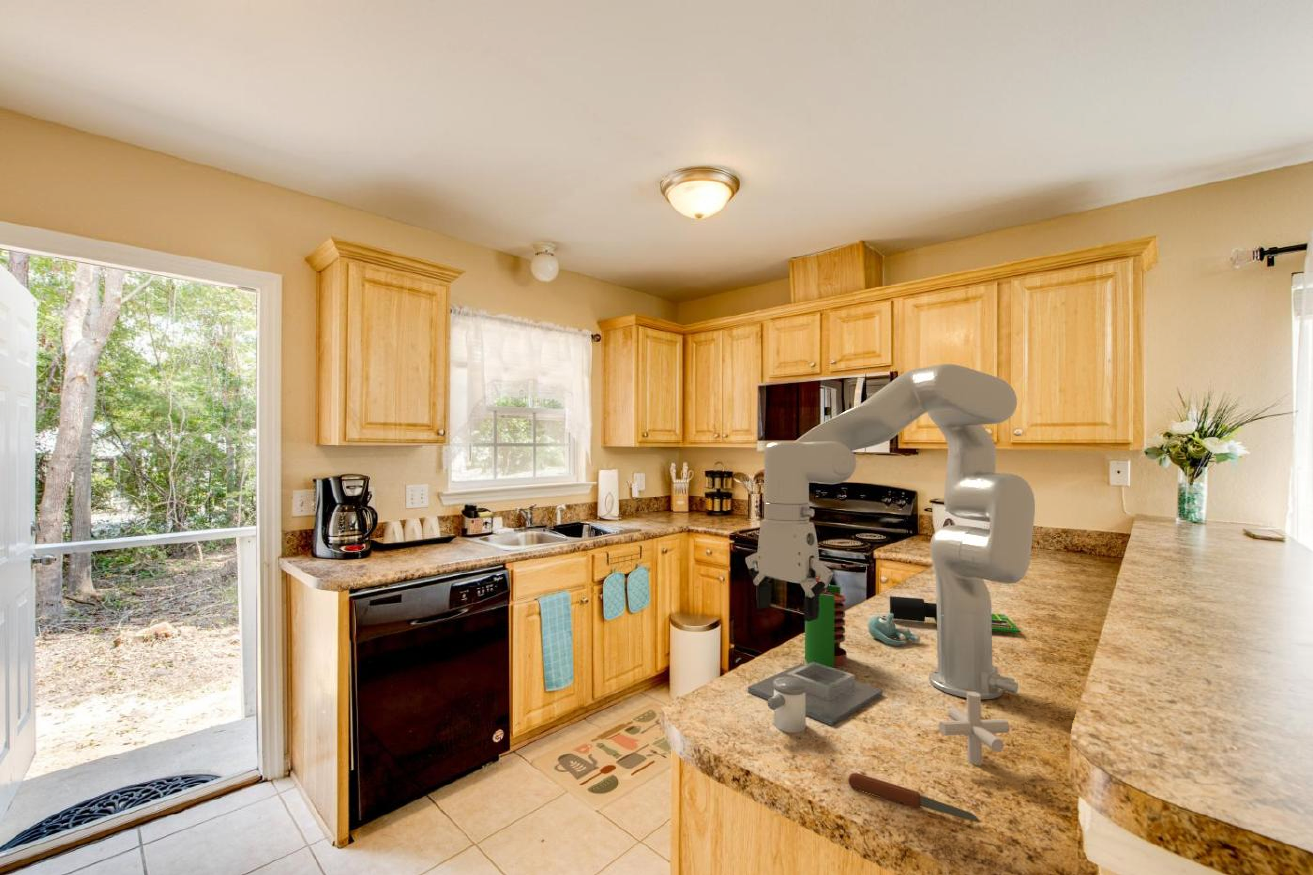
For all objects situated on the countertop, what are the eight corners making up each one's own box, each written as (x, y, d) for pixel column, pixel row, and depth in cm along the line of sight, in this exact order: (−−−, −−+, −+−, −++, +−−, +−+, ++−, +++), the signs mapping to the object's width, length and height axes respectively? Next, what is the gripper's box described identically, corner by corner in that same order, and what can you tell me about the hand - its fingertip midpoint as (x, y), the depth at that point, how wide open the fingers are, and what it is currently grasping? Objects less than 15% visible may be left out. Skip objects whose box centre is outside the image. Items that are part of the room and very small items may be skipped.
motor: (849, 670, 117) (848, 576, 118) (806, 667, 119) (805, 574, 120) (843, 654, 127) (842, 566, 128) (803, 651, 129) (802, 565, 130)
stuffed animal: (921, 629, 129) (868, 612, 134) (916, 658, 129) (862, 640, 135) (924, 617, 138) (874, 602, 144) (918, 644, 138) (868, 628, 144)
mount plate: (882, 695, 105) (882, 678, 105) (832, 726, 93) (832, 706, 93) (801, 668, 118) (801, 653, 119) (748, 692, 106) (747, 675, 107)
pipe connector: (923, 745, 87) (922, 681, 87) (983, 743, 88) (982, 679, 88) (964, 783, 77) (963, 710, 77) (1031, 779, 78) (1030, 707, 78)
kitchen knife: (847, 789, 76) (847, 774, 76) (850, 784, 77) (850, 769, 77) (980, 832, 67) (979, 815, 67) (980, 826, 68) (980, 809, 68)
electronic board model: (1004, 595, 153) (1019, 610, 139) (1004, 620, 153) (1020, 637, 139) (887, 587, 163) (891, 599, 149) (888, 610, 163) (891, 625, 149)
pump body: (812, 725, 93) (812, 683, 93) (785, 741, 88) (785, 697, 88) (785, 714, 97) (785, 674, 97) (758, 729, 92) (758, 686, 92)
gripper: (843, 516, 91) (844, 620, 90) (760, 508, 104) (760, 599, 104) (818, 519, 86) (818, 629, 86) (733, 510, 99) (733, 606, 99)
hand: (786, 613), depth 95 cm, fingers open, 9 cm apart
